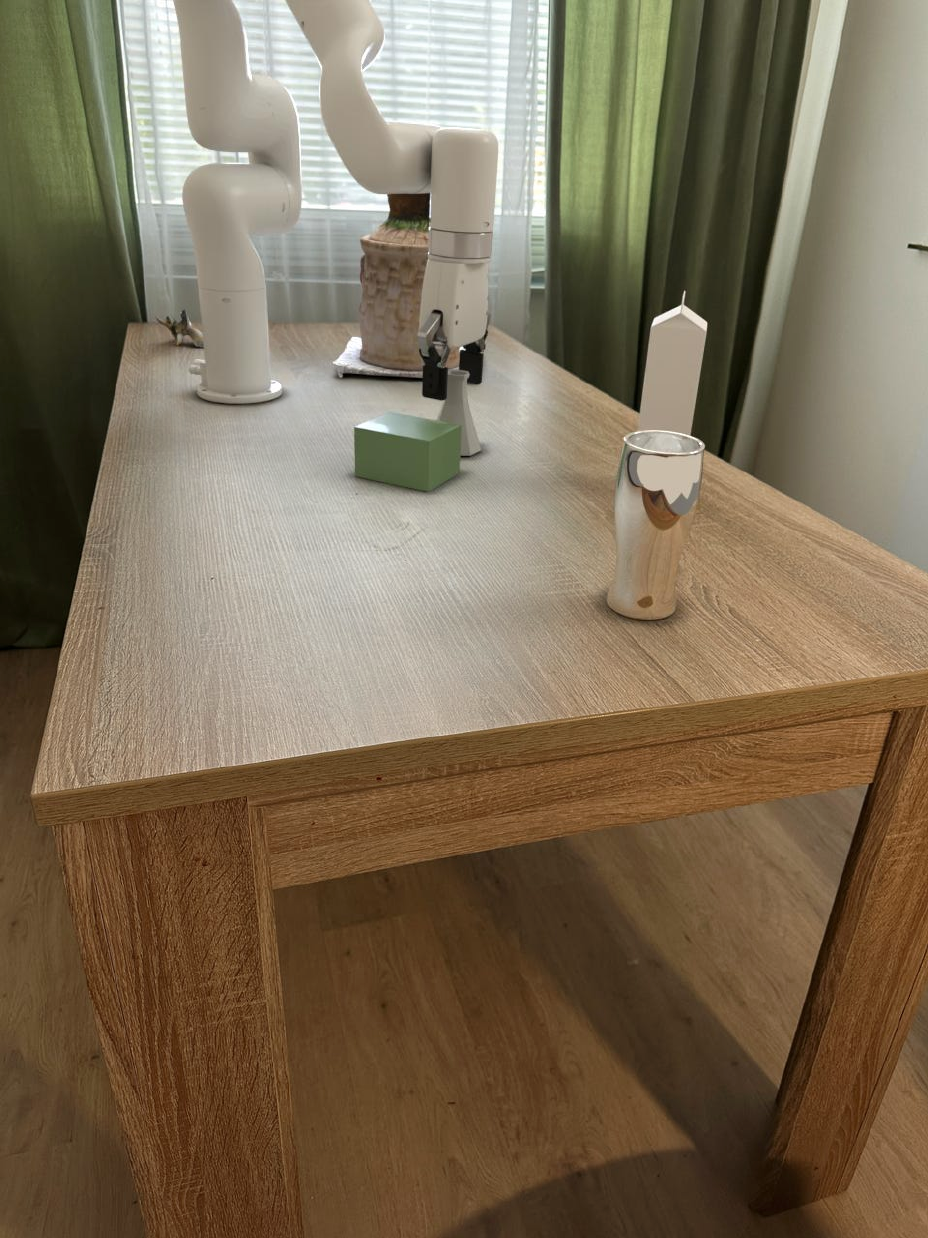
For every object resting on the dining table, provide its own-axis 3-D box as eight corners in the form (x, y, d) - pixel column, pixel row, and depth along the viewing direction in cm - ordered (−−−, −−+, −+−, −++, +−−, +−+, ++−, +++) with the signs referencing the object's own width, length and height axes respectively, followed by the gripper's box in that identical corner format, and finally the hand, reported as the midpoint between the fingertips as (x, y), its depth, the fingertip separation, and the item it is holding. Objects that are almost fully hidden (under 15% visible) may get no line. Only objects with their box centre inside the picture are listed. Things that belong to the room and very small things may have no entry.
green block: (354, 476, 109) (353, 426, 107) (389, 458, 116) (389, 411, 113) (428, 492, 106) (429, 441, 103) (460, 473, 112) (461, 424, 109)
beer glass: (594, 587, 85) (612, 428, 78) (667, 587, 86) (692, 429, 79) (611, 623, 79) (633, 453, 72) (690, 622, 79) (719, 454, 72)
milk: (629, 491, 109) (653, 296, 98) (633, 475, 114) (656, 288, 104) (681, 497, 108) (711, 300, 97) (683, 480, 113) (712, 291, 102)
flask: (476, 460, 117) (479, 381, 112) (420, 454, 118) (422, 376, 113) (486, 444, 123) (490, 368, 118) (433, 438, 124) (435, 363, 119)
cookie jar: (479, 385, 152) (490, 169, 137) (330, 378, 152) (324, 161, 137) (480, 353, 173) (489, 164, 158) (350, 347, 173) (346, 157, 158)
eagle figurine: (149, 337, 168) (182, 335, 164) (159, 301, 169) (191, 297, 164) (182, 355, 175) (214, 353, 170) (191, 320, 176) (223, 317, 171)
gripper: (465, 237, 117) (457, 372, 125) (395, 248, 103) (392, 399, 112) (518, 243, 114) (507, 381, 122) (454, 256, 101) (446, 410, 109)
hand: (452, 390), depth 117 cm, fingers open, 9 cm apart
